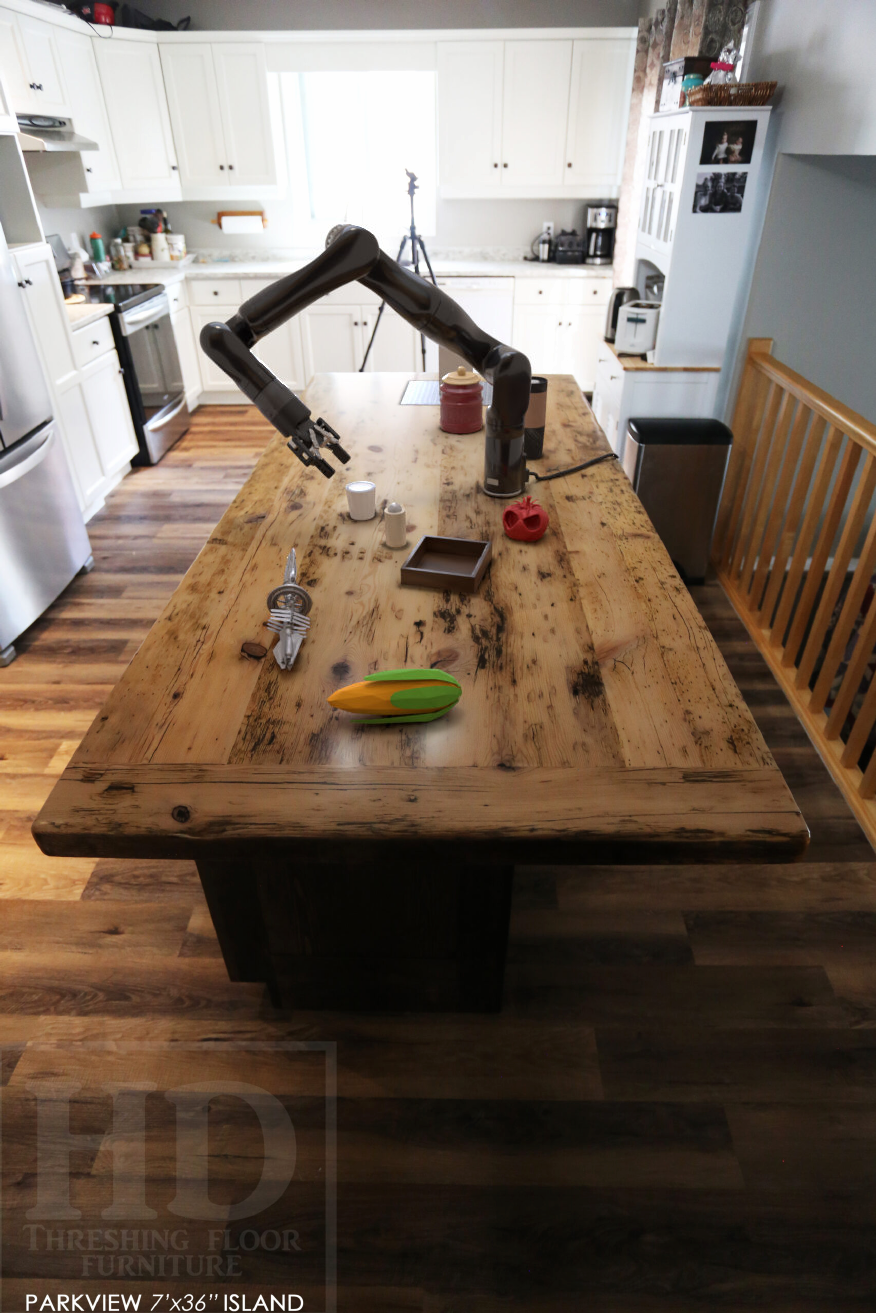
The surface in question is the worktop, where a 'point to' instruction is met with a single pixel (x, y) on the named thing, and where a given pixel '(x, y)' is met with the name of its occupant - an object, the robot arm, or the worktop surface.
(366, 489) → the beige white cylinder
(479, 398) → the kitchen canister
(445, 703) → the corn
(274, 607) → the spaceship
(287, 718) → the worktop surface
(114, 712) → the worktop surface
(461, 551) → the tray
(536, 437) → the travel mug
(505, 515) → the pomegranate
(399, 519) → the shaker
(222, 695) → the worktop surface
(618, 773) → the worktop surface
